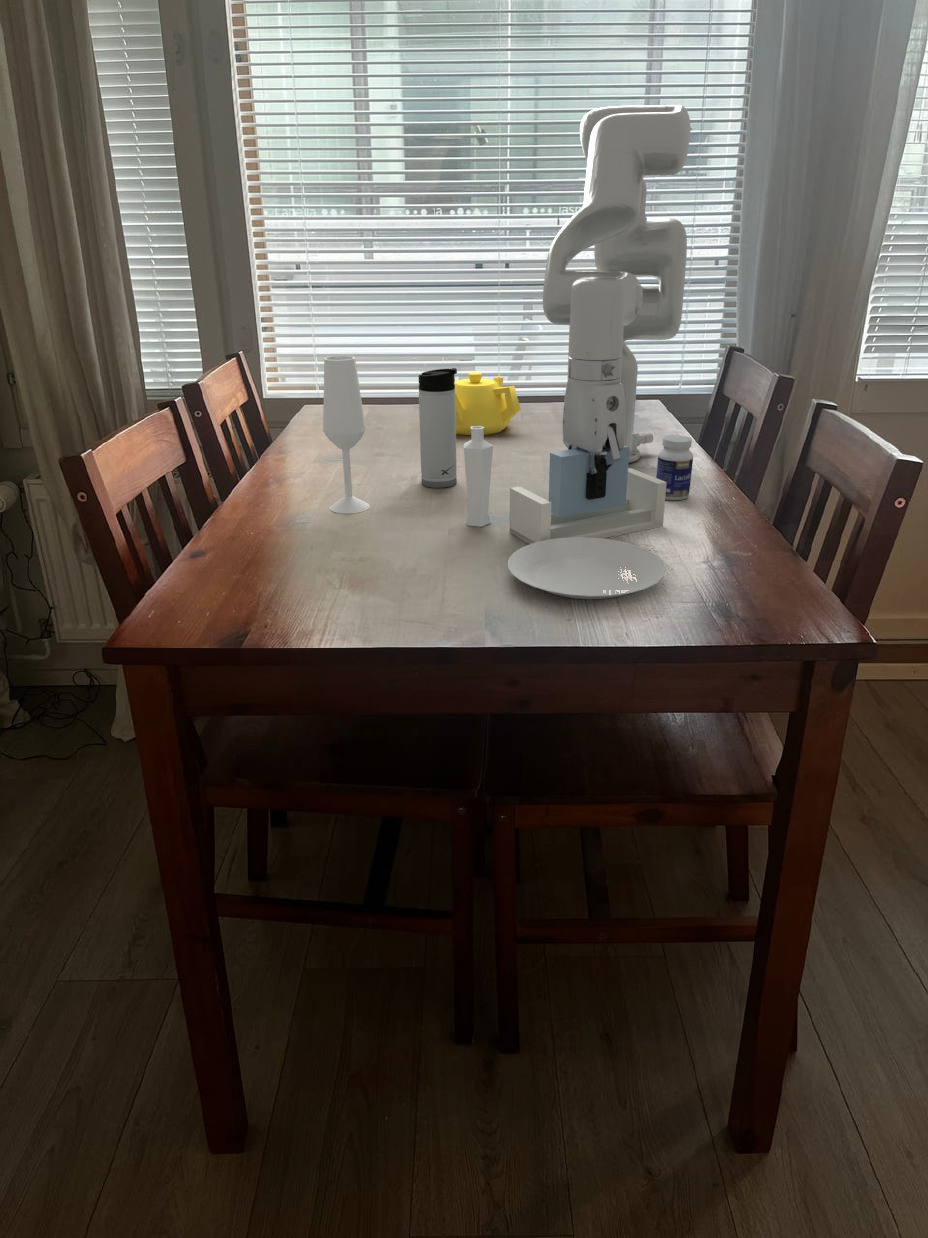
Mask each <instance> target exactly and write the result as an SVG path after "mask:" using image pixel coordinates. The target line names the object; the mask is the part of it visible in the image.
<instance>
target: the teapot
mask: <svg viewBox="0 0 928 1238" xmlns="http://www.w3.org/2000/svg"><path fill="white" fill-rule="evenodd" d="M482 377H483V373H482V372H477V371H475V372H474V371H472V372H469V373H467V378H464V379H463V378H462V379H459V380H455V383H454V384H455V406H456V435H463V436H471V426H482V427H485V428H484V436H486V435H487V436H488V435H492V434H493V435H494V434H498V433H500V432H503V431H504V430H505V429H506V427H508V425H509V424H510V423H511V420H512V419H513V418H514V417H515V415H517V414H518V413H519V412H520V411H521V406H520V402H519V399H518V394H517V390H516V387H515V385H511V386H510V385H509V386H504V385H503V384H504V377H503V376H496V377H493V378H494V379H490V378H489V379H488V378H482ZM502 430H503V431H502Z"/></svg>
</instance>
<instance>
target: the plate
mask: <svg viewBox="0 0 928 1238" xmlns="http://www.w3.org/2000/svg"><path fill="white" fill-rule="evenodd" d="M620 567H621V568H620ZM625 567H626V568H625ZM507 568H508V570H509V572H510V574H511V575H512V576H513V577H514V578H516V579H517V580H518V581H520V582H522V583H524V584H525V585H526V584H527V585H528V586H531V587H532V588H536V589H540V590H542V591H544V592H545V591H546V592H547V593H550V594H553V595H556V596H560V597H565V598H569V599H570V598H572V599H580V600H581V599H582V600H601V599H602V600H603V599H610V598H611V599H612V598H618V597H621V596H624V595H625V596H626V595H627V594H628V595H629V594H632V593H637V592H640V591H643V590H646V589H648V588H650V587H653V586H655V585H656V584H659V582H660V581H662V579H664V578H665V575H666V572H667V567H666V564H665V562H664V560H663V559H662V558H661V557H660V556H659V555H658V554H655V553H654V552H653V551H651V550H648V549H647V548H644V547H642V546H639V545H635V544H633V543H629V542H625V541H621V540H617V539H616V540H615V539H611V538H610V539H608V538H589V537H569V538H557V539H549V540H544V541H540V542H535V543H532V544H527V545H525V546H522V547H521V548H519V549H517V550H514V552H513V553H511V555H510V557H509V558H508V561H507ZM620 569H622V573H625V572H623V571H624V570H625V569H626V571H627V570H631V575H632V577H636V579H637V582H636V580H635V579H633V578H632V580H633V581H631V580H630V579H629V578H628V583H629V584H628V583H627V581H626V580H625V579H624V578H623V579H622V577H621V576H620V575H621V574H622V573H620V572H621V570H620ZM618 571H619V572H618ZM627 573H628V571H627ZM618 574H619V575H618ZM633 574H635V575H636V576H635V575H633ZM624 576H625V575H623V577H624ZM627 576H628V574H627ZM625 577H626V576H625ZM618 578H619V579H618ZM623 580H624V581H623ZM603 590H606V594H605V593H603ZM609 590H611V595H609ZM615 590H620V594H619V592H617V591H616V594H615ZM621 590H629V591H627V592H625V593H621Z"/></svg>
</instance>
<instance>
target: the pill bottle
mask: <svg viewBox="0 0 928 1238" xmlns="http://www.w3.org/2000/svg"><path fill="white" fill-rule="evenodd" d="M692 440H693V439H692V438H691V437H689V436H684V435H679V434H678V435H677V434H676V435H675V434H672V435H671V434H670V435H665V436H663V437H662V443H661V444H662V445H661V446H663V449H662V450H660V451H659V452H658V457H657V464H656V465H657V466H656V474H655V475H656V477H655V478H657V479H660V480H662V481H665V482H667V483H666V495H665V501H682V500H686V499H688V498H689V496H690V490H691V481H692V470H693V464H694V463H693V462H694V455H693V453H692V451H691V450H690V448H691V447H692V444H693V441H692Z"/></svg>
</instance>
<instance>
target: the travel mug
mask: <svg viewBox="0 0 928 1238" xmlns="http://www.w3.org/2000/svg"><path fill="white" fill-rule="evenodd" d="M457 373H458V369H457V368H456V367H451V368H438V369H433V370H432V369H431V370H427V371H426V370H425V371H423V372H421V374H419V375H418V413H419V415H418V416H419V443H420V445H419V446H420V448H419V449H420V468H421V469H420V474H421V476H420V477H421V479H420V480H421V484H422V485H423V486H424V487H427V488H432V489H442V488H443V489H445V488H450V487H452V486H454V485H456V484H457V482H458V481H457V476H458V475H457V434H456V406H455V384H454V383H455V381H456V379H455V375H457Z"/></svg>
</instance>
